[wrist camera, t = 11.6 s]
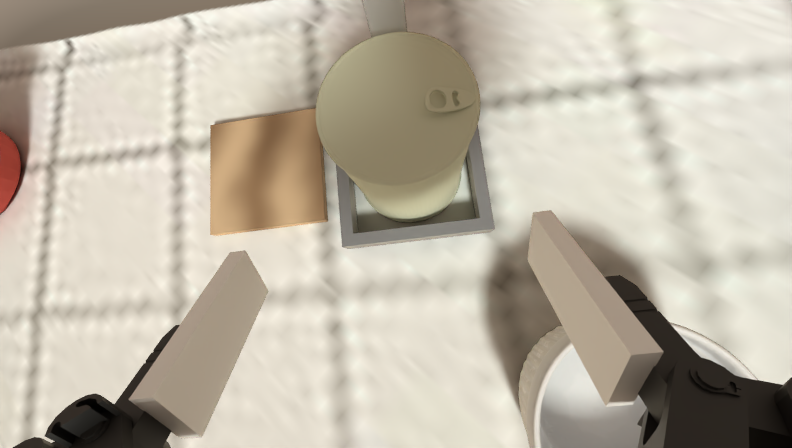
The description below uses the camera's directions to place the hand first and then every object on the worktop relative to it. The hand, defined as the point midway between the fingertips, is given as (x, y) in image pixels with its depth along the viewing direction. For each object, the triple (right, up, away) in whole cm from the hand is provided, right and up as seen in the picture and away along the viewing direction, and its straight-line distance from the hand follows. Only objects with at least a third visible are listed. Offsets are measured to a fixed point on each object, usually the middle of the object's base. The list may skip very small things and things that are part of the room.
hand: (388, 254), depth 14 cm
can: (+2, +6, +14) cm, 15 cm away
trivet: (-12, +6, +15) cm, 20 cm away
